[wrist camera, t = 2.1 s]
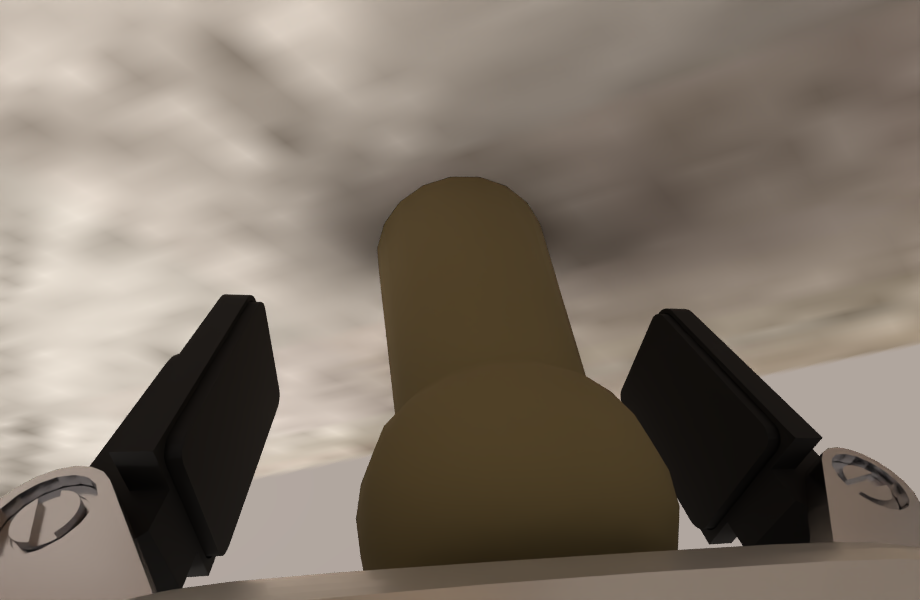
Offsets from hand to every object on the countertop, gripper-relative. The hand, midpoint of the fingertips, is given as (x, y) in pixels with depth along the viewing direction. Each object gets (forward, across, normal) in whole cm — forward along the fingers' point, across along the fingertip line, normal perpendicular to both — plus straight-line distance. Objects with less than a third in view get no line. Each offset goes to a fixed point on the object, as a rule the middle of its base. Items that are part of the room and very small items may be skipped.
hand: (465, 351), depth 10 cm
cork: (+6, 0, 0) cm, 6 cm away
